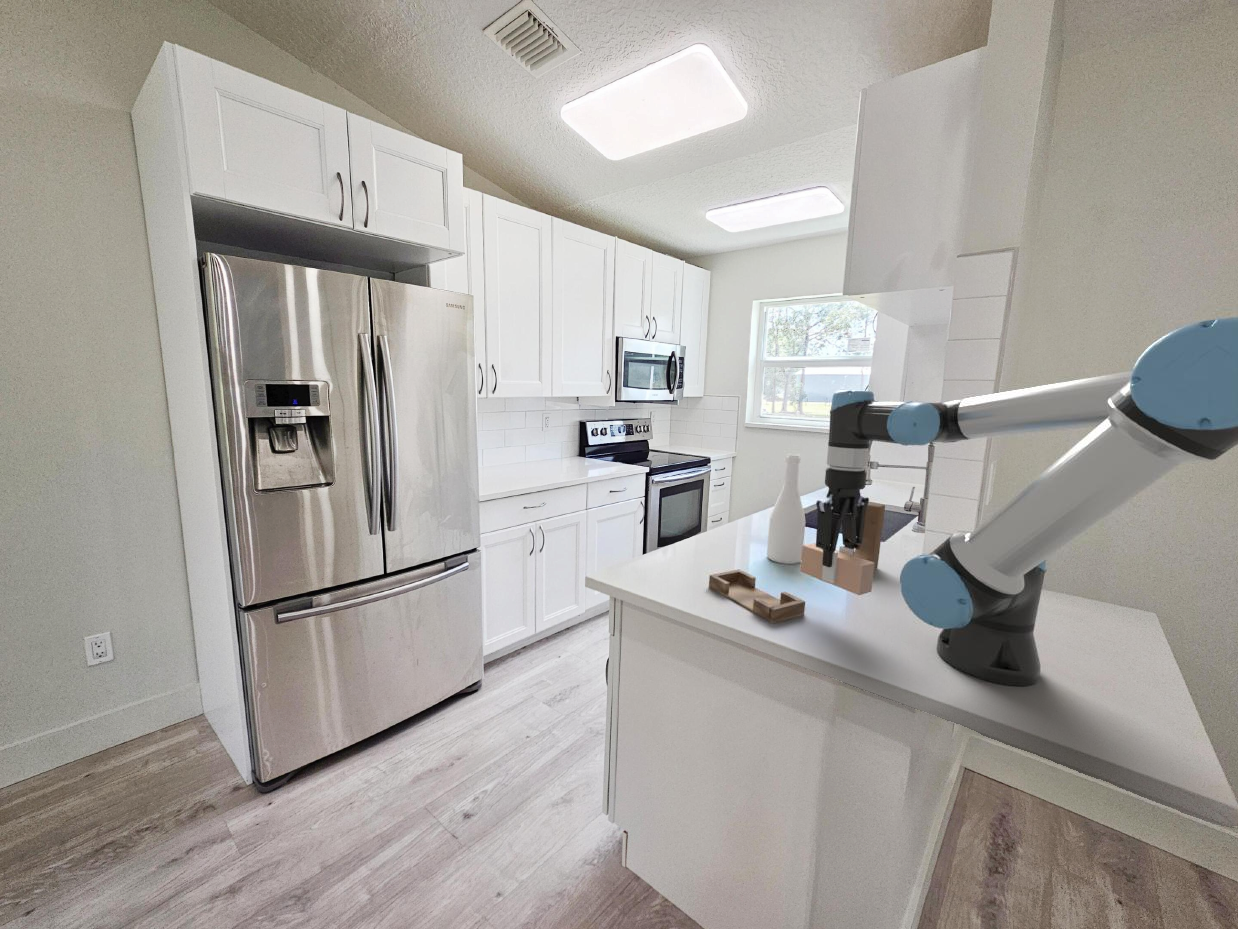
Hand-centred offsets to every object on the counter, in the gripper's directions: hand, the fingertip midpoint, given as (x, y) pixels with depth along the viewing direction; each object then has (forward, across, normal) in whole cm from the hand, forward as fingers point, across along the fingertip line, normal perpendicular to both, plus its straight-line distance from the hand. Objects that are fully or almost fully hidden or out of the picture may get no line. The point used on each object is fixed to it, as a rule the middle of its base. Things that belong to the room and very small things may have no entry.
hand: (836, 579), depth 104 cm
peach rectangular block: (+1, 0, 0) cm, 1 cm away
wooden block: (+9, -34, -17) cm, 39 cm away
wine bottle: (+9, -20, -32) cm, 39 cm away
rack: (+9, +8, -15) cm, 19 cm away
